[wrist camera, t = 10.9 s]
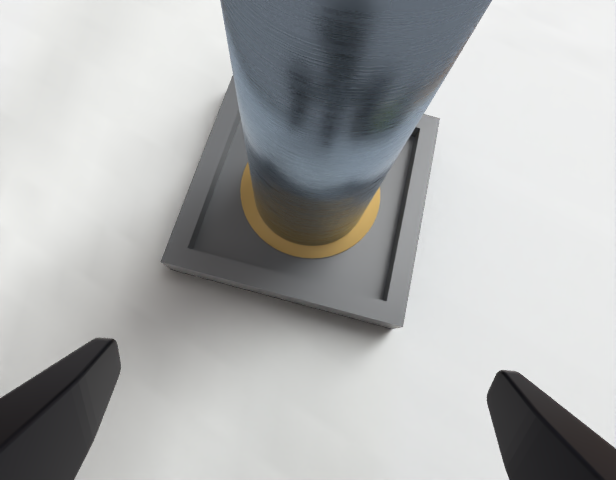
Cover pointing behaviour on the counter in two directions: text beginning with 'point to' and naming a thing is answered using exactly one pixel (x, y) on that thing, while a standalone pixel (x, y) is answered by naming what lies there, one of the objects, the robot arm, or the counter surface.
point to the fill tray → (293, 257)
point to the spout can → (335, 98)
